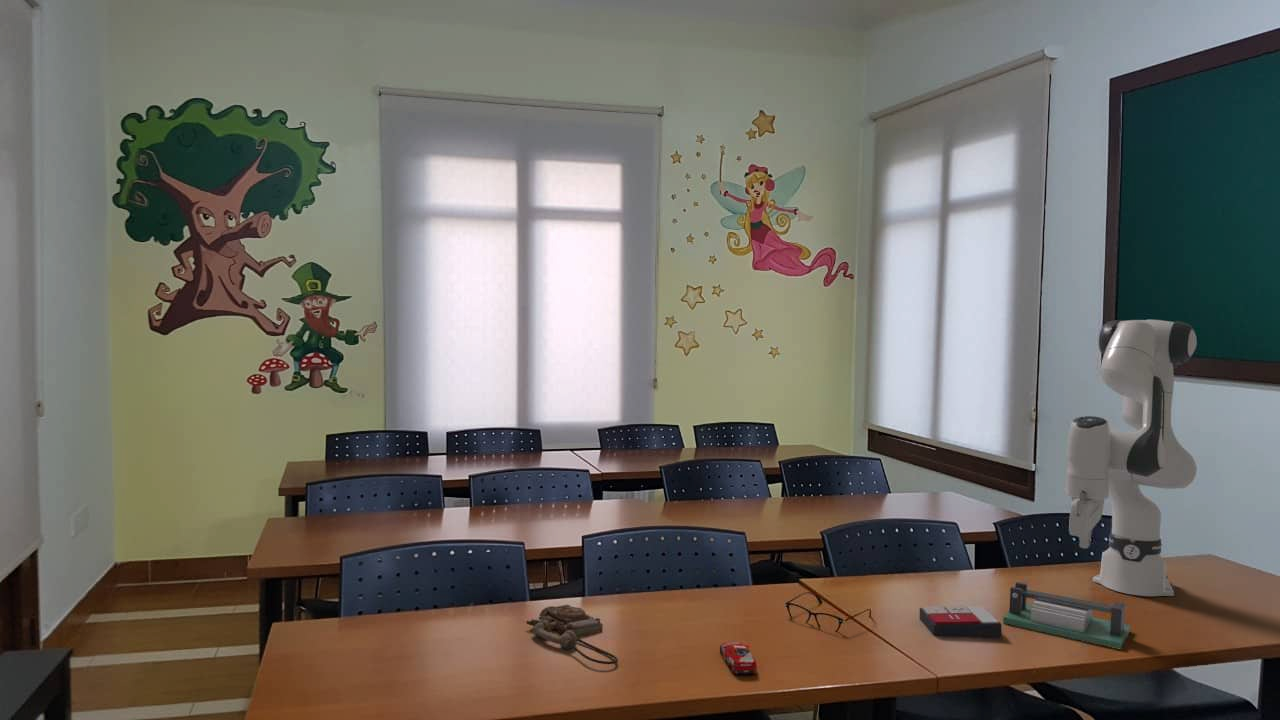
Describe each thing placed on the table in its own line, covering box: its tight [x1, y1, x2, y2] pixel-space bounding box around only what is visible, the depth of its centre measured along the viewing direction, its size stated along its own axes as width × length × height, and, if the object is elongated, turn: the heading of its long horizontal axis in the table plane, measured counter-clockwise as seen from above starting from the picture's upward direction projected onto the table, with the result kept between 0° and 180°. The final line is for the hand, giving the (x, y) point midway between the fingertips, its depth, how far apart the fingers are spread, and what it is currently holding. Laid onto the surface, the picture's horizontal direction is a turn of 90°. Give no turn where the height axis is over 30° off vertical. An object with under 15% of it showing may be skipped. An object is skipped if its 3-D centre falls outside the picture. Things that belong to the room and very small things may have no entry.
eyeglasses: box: [784, 592, 872, 633], centre depth 199 cm, size 16×16×4 cm
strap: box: [1022, 589, 1113, 614], centre depth 196 cm, size 3×20×1 cm, turn 53°
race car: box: [719, 641, 758, 675], centre depth 171 cm, size 13×5×4 cm, turn 7°
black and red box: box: [919, 605, 1002, 639], centre depth 193 cm, size 11×4×15 cm
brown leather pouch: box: [525, 604, 619, 665], centre depth 181 cm, size 15×33×4 cm, turn 38°
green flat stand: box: [1002, 581, 1131, 649], centre depth 195 cm, size 14×24×8 cm, turn 53°
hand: (1084, 546), depth 196 cm, fingers closed
